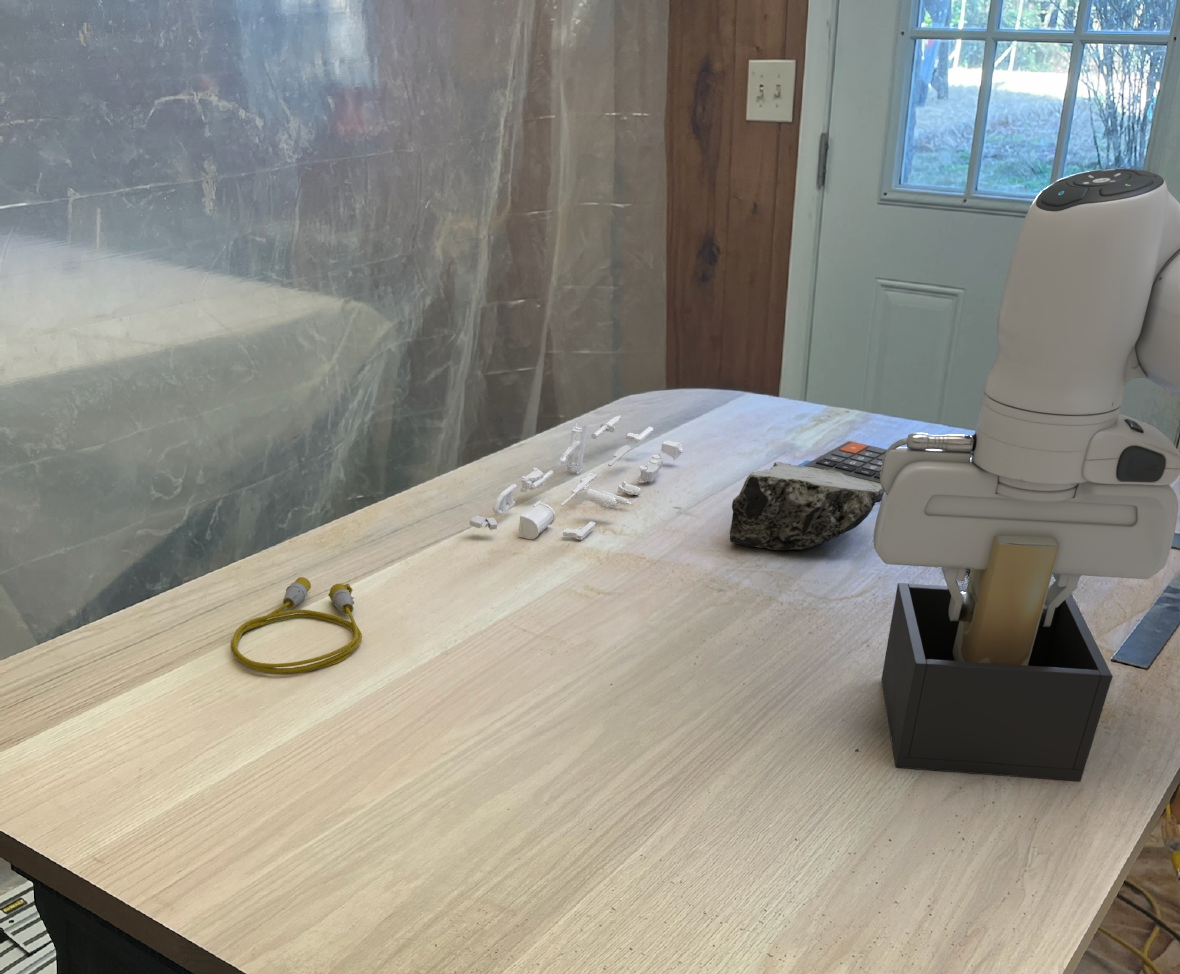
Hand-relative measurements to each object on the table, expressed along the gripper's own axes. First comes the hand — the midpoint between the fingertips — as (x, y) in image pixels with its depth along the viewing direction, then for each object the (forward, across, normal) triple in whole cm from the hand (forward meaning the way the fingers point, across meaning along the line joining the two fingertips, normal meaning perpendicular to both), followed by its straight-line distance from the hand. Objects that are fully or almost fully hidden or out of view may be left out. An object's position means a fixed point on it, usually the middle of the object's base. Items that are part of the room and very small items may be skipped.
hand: (998, 621), depth 87 cm
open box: (+9, 0, 0) cm, 9 cm away
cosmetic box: (+5, 0, 0) cm, 5 cm away
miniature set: (+10, -36, +46) cm, 60 cm away
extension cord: (+10, -58, +8) cm, 59 cm away
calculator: (+9, -5, +58) cm, 59 cm away
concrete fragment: (+10, -13, +37) cm, 40 cm away
